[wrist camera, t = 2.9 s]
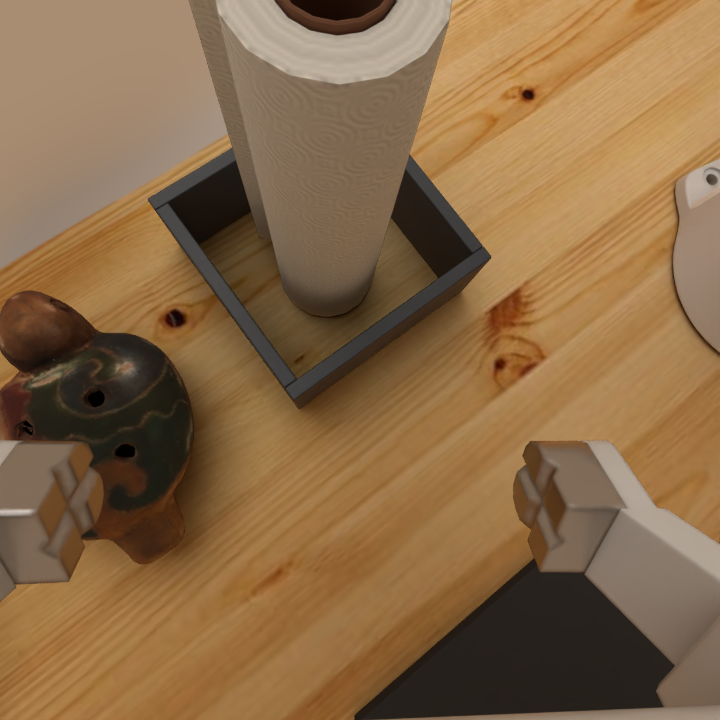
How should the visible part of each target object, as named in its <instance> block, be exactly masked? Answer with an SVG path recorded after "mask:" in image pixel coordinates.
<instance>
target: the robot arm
mask: <svg viewBox="0 0 720 720" xmlns="http://www.w3.org/2000/svg"><path fill="white" fill-rule="evenodd" d="M707 181H708V182H707ZM675 196H676V203H677V208H678V213H679V228H678V232H677V236H676V241H675V245H674V252H673V273H674V280H675V284H676V289H677V292H678V295H679V298H680V301H681V303H682V305H683V308H684V310H685V312H686V314H687V315H688V317H689V319H690V320H691V322H692V324H693V325H694V326H695V328H696V329H697V330H698V332H699V333H700V334H701V335H702V337H703V338H704V339H705V340H706V341H707V342H708V343H709V344H710V345H711V346H712V347H713V348H714V349H716V350H717V351H718V352H719V353H720V159H717V160H715V161H713V162H711V163H708V164H706V165H704V166H702V167H699V168H697V169H695V170H693V171H691V172H689V173H688V174H686V175H684V176H682V177H681V178H680V179H679V180H678V181H677V183H676V186H675ZM522 456H523V458H524V460H525V463H526V465H525V466H524V467H522V468H521V469H520V470H519V471H517V473H516V477H515V480H514V484H513V499H514V504H515V509H516V511H517V514H518V517H519V520H520V521H521V522H523V523H524V524H525V525H526V526H527V527H529V528H530V529H531V532H530V535H529V537H528V543H529V545H530V548H531V551H532V553H533V556H534V558H535V561H536V563H537V566H538V568H539V571H540V572H586V573H585V576H586V577H587V578H588V579H589V580H590V581H591V582H592V583H593V584H594V585H595V586H596V587H597V588H598V589H599V590H600V591H601V592H602V593H603V594H604V595H605V596H606V597H607V598H608V599H609V600H610V601H611V602H612V603H613V604H614V605H615V606H616V607H617V608H618V609H619V610H620V611H621V612H622V613H623V614H624V615H625V616H626V617H627V618H628V619H629V620H630V621H631V622H632V623H633V624H634V625H635V626H636V627H637V628H638V629H639V630H640V631H641V632H642V633H643V634H644V635H645V636H646V637H647V638H648V639H649V640H650V641H651V642H652V643H653V644H654V645H655V646H656V647H657V648H658V649H659V650H660V651H661V652H662V653H663V654H664V655H665V656H666V657H667V658H668V659H669V660H670V661H671V662H672V663H673V664H674V665H675V666H674V667H673V669H672V670H671V671H670V672H669V673H668V674H667V675H666V676H665V678H664V679H663V680H662V681H661V682H660V683H659V686H658V688H657V690H656V692H657V694H658V696H659V698H660V700H661V703H662V705H663V707H660V708H637V709H614V710H591V711H568V712H544V713H521V714H498V715H475V716H452V717H428V718H405V719H382V720H720V544H719V543H718V542H716V541H714V540H713V539H711V538H710V537H708V536H707V535H705V534H704V533H702V532H701V531H699V530H698V529H696V528H695V527H693V526H692V525H690V524H689V523H687V522H686V521H684V520H683V519H681V518H679V517H678V516H676V515H675V514H673V513H672V512H670V511H669V510H667V509H665V508H657V507H656V505H655V504H654V502H653V501H652V499H651V498H650V496H649V495H648V494H647V492H646V491H645V489H644V488H643V486H642V485H641V483H640V482H639V480H638V479H637V477H636V476H635V475H634V473H633V472H632V470H631V469H630V467H629V466H628V464H627V463H626V461H625V460H624V459H623V457H622V456H621V454H620V453H619V451H618V450H617V448H616V447H615V445H614V444H612V443H611V442H609V441H608V440H592V441H530V442H529V443H528V444H527V446H526V447H525V450H524V453H523V455H522ZM92 459H93V454H92V452H91V450H90V447H89V445H88V443H84V442H80V441H37V440H24V441H11V440H0V602H1V601H2V600H3V599H4V598H5V597H6V596H7V595H8V594H10V593H11V592H12V591H13V590H14V589H15V588H16V584H37V583H58V582H69V580H70V578H71V576H72V574H73V572H74V570H75V568H76V565H77V563H78V561H79V559H80V557H81V555H82V552H83V550H84V548H85V546H84V543H83V541H82V538H81V536H82V535H83V534H85V533H86V532H87V531H88V530H90V529H91V528H92V527H93V526H95V524H96V522H97V520H98V517H99V515H100V513H101V509H102V503H103V498H104V490H103V482H102V479H101V476H100V474H99V473H98V472H96V471H95V470H94V469H92V468H91V467H90V466H89V464H90V462H91V460H92Z"/></svg>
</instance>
